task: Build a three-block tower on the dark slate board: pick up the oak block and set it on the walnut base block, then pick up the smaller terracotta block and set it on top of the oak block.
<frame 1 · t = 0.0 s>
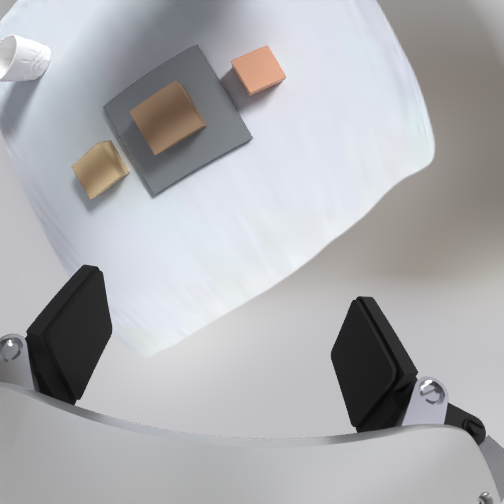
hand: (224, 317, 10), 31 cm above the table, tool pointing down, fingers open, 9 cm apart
oak block: (106, 167, 37), on the table
walnut base block: (172, 118, 33), point 1 cm above the table, touching slate board
terracotta block: (257, 74, 32), on the table
white cup: (38, 62, 27), on the table
slate board: (174, 118, 34), on the table
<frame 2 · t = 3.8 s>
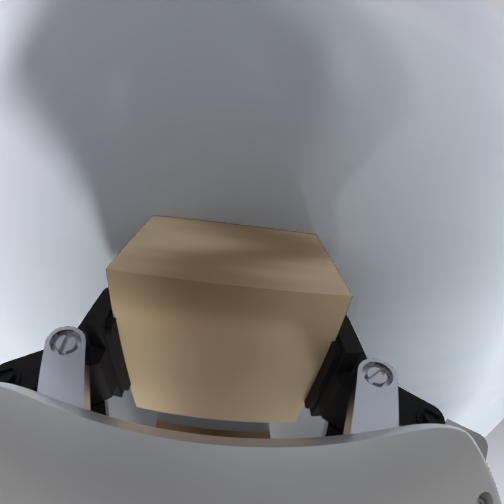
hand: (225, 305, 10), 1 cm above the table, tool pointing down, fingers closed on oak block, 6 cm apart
oak block: (226, 294, 11), on the table, touching gripper
walnut base block: (211, 449, 16), point 1 cm above the table, touching slate board
slate board: (212, 438, 17), on the table
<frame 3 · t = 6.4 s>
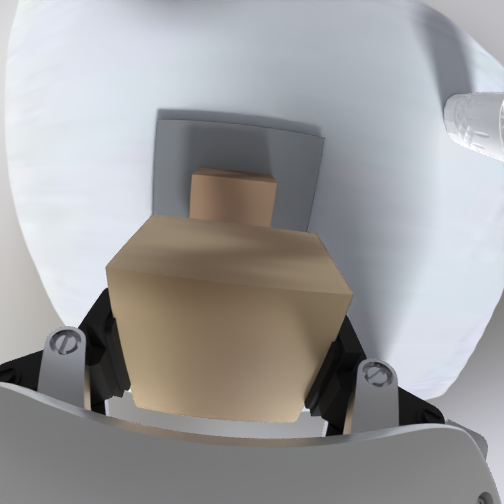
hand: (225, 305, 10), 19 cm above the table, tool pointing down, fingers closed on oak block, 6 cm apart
oak block: (226, 294, 11), point 18 cm above the table, touching gripper
walnut base block: (231, 205, 27), point 1 cm above the table, touching slate board
white cup: (459, 119, 24), on the table
slate board: (231, 202, 28), on the table
when the fingers open (7 cm above the table, at t = 9.4 s): oak block drops 1 cm, resting on walnut base block.
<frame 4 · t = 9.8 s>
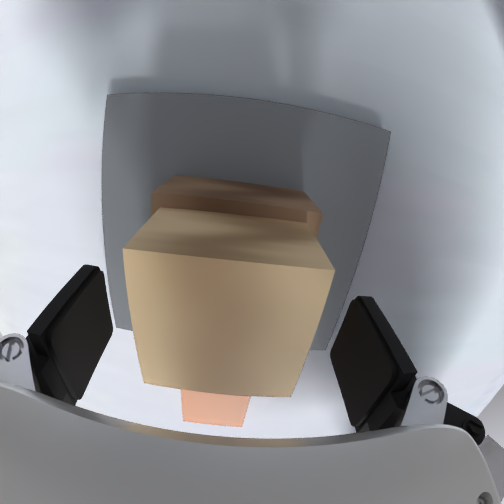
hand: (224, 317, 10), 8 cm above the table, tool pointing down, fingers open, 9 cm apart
oak block: (226, 279, 12), point 5 cm above the table, touching walnut base block
walnut base block: (231, 242, 16), point 1 cm above the table, touching oak block, slate board
terracotta block: (216, 373, 22), on the table
slate board: (231, 235, 17), on the table
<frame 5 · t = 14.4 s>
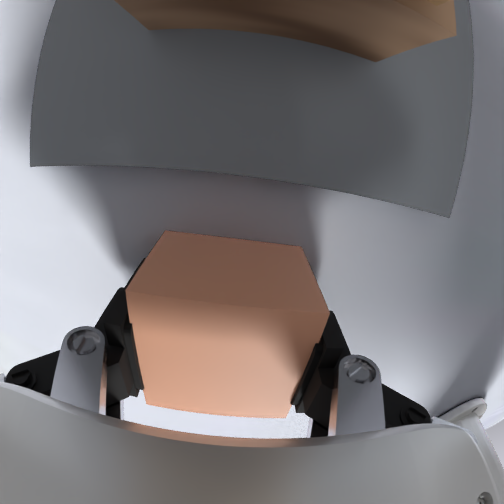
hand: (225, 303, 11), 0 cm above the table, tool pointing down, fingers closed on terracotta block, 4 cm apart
terracotta block: (226, 295, 11), on the table, touching gripper
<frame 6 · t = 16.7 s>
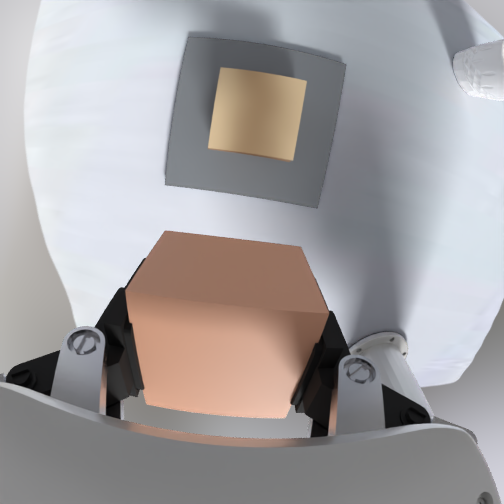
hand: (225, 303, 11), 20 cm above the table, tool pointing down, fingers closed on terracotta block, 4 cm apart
oak block: (255, 115, 21), point 5 cm above the table, touching walnut base block
terracotta block: (226, 296, 11), point 19 cm above the table, touching gripper
white cup: (467, 73, 21), on the table
slate board: (254, 118, 25), on the table
when the fingers open (11 cm above the table, at t = 19.2 s): terracotta block drops 1 cm, resting on oak block.
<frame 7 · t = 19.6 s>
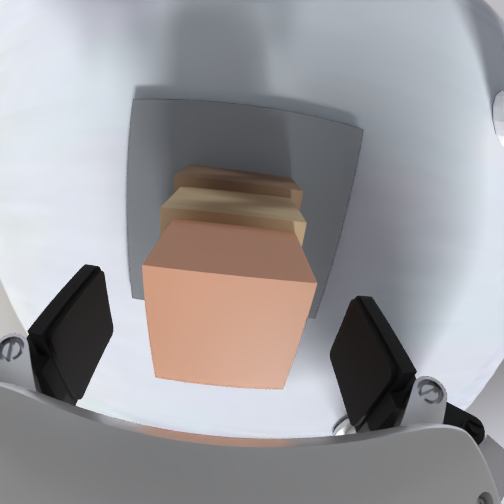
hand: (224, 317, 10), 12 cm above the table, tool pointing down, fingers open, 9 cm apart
oak block: (230, 242, 16), point 5 cm above the table, touching terracotta block, walnut base block
walnut base block: (233, 219, 19), point 1 cm above the table, touching oak block, slate board
terracotta block: (228, 278, 12), point 9 cm above the table, touching oak block
slate board: (234, 215, 20), on the table
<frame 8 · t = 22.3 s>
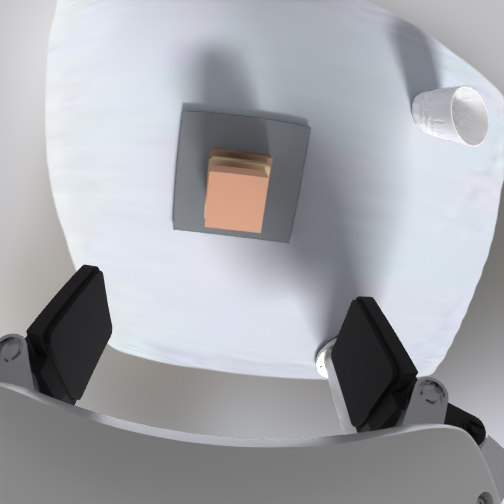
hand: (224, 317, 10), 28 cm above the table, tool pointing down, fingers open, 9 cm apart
oak block: (237, 184, 31), point 5 cm above the table, touching terracotta block, walnut base block
walnut base block: (238, 178, 34), point 1 cm above the table, touching oak block, slate board
terracotta block: (236, 192, 27), point 9 cm above the table, touching oak block
white cup: (427, 113, 31), on the table
slate board: (238, 176, 35), on the table
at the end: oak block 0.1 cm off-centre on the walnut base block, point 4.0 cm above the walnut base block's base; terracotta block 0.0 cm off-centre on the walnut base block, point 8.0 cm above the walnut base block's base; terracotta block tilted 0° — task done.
